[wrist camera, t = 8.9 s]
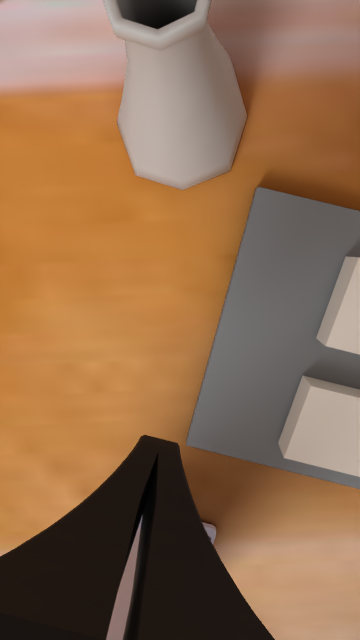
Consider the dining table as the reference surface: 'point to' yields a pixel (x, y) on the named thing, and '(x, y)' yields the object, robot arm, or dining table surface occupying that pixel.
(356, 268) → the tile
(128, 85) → the flask
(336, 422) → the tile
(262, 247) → the slate mat
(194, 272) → the dining table surface
